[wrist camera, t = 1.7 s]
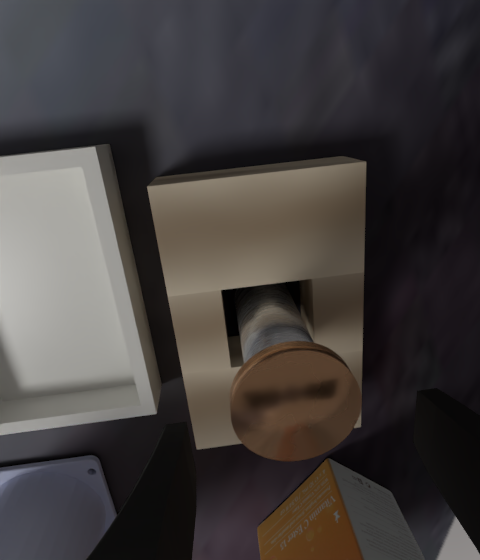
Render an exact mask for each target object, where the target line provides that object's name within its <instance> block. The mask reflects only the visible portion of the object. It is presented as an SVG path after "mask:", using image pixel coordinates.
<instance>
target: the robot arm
mask: <svg viewBox="0 0 480 560" xmlns="http://www.w3.org/2000/svg"><path fill="white" fill-rule="evenodd" d="M413 443H414V445H415V447H416V449H417V451H418V453H419V455H420V457H421V460H422V462H423V464H424V465H425V467H426V469H427V471H428V473H429V475H430V477H431V478H432V480H433V481H434V483H435V485H436V486H437V488H438V489H439V491H440V493H441V494H442V496H443V497H444V499H445V500H446V502H447V503H448V505H449V507H450V508H451V510H452V511H453V513H454V514H455V516H456V517H457V519H458V520H459V522H460V524H461V525H462V527H463V528H464V530H465V531H466V533H467V534H468V536H469V537H470V539H471V540H472V542H473V544H474V545H475V547H476V548H477V550H478V552H479V553H480V415H478V414H476V413H475V412H473V411H472V410H470V409H469V408H467V407H466V406H464V405H462V404H461V403H459V402H458V401H456V400H455V399H453V398H452V397H450V396H448V395H447V394H445V393H444V392H442V391H440V390H439V389H437V388H435V389H428V390H421V391H417V401H416V413H415V424H414V436H413ZM92 469H94V470H92ZM195 517H196V469H195V464H194V459H193V453H192V448H191V443H190V438H189V433H188V428H187V423H186V422H183V423H175V424H168V425H166V426H165V427H164V428H163V430H162V433H161V435H160V437H159V440H158V442H157V444H156V446H155V448H154V450H153V452H152V454H151V456H150V458H149V460H148V462H147V464H146V466H145V468H144V470H143V472H142V474H141V475H140V477H139V479H138V481H137V483H136V485H135V486H134V488H133V490H132V492H131V493H130V495H129V497H128V498H127V500H126V502H125V503H124V505H123V506H122V508H121V510H120V511H119V513H118V515H117V514H116V511H115V507H114V504H113V501H112V498H111V495H110V492H109V489H108V485H107V482H106V479H105V476H104V473H103V470H102V467H101V463H100V460H99V459H98V458H97V457H96V456H93V455H89V456H82V457H74V458H67V459H60V460H52V461H45V462H38V463H31V464H23V465H16V466H9V467H1V468H0V560H192V550H193V540H194V529H195Z"/></svg>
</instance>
